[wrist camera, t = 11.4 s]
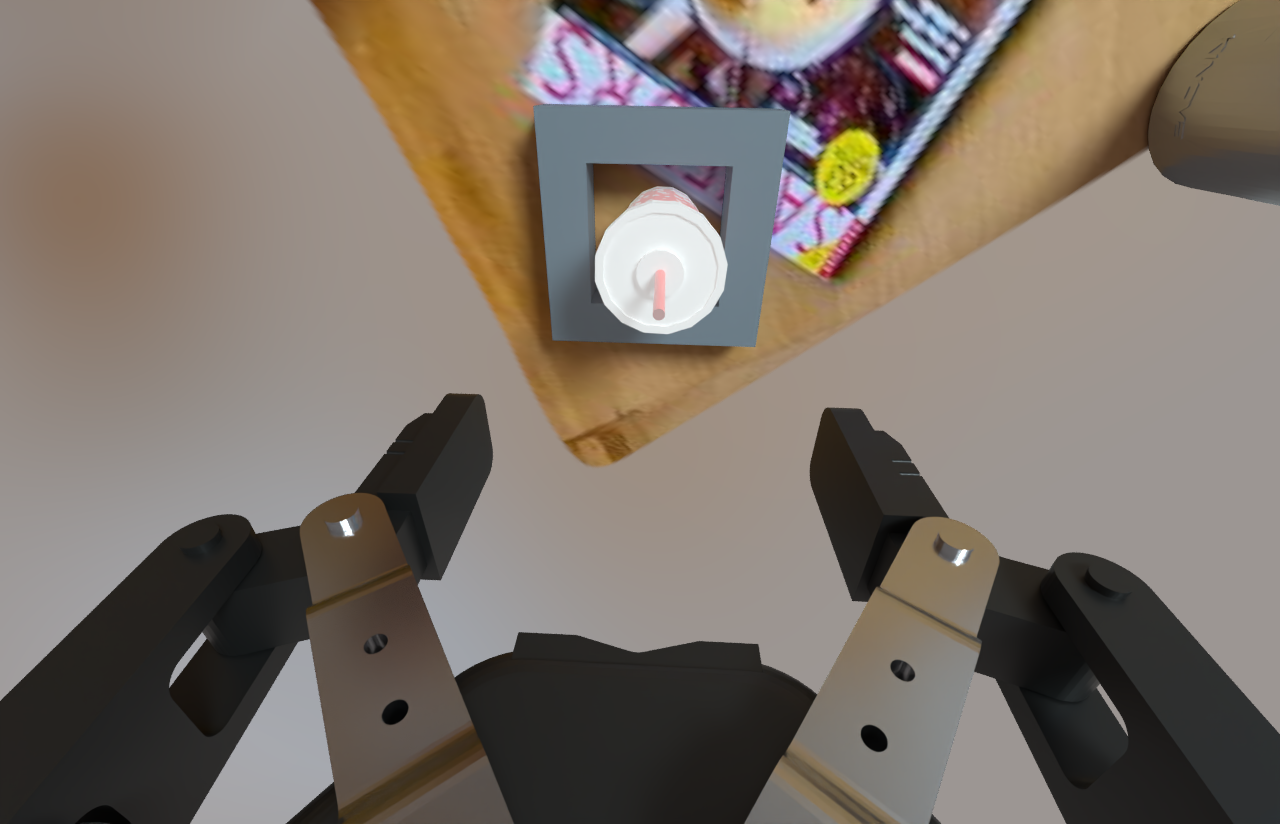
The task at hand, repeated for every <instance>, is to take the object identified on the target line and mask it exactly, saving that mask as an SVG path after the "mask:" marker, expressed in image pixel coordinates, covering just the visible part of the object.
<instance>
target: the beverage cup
mask: <svg viewBox="0 0 1280 824" xmlns="http://www.w3.org/2000/svg"><path fill="white" fill-rule="evenodd" d="M727 266H728V264H727V260H726V256H725V252H724V248H723V245H722V241H721V237H720V236H719V234H718V233H717V232H716V230H715V229H714V228H713V227H712V225H711V224H710V223H709V222H708V220H707V219H706V218H705V216H704V215H703V214H702V213H700V212H699V211H698V209H697V208H696V206H695V205H694V204H693V202H692V201H691V200H690V198H689V197H688V196H687V195H686V194H684V193H683V192H681V191H679V190H677V189H675V188H673V187H661V186H657V187H654V188H651V189H649V190H646V191H643V192H642V193H641V194H640V195H639V196H638V197H637V198H636V199H635V200H633V201H632V202H631V204H630V205H629V207H628V208H627V210H626V211H624V212H623V213H622V214H621V215H620V216H619V217H618V218H617V219H616V220H615V221H614V222H613V223H612V224H611V225H610V226H609V227H608V228H607V229H606V231H605V234H604V236H603V238H602V241H601V243H600V245H599V248H598V250H597V252H596V255H595V283H596V285H597V288H598V290H599V293H600V295H601V298H602V300H603V302H604V305H605V306H606V307H607V308H608V309H609V310H610V311H611V312H612V313H613V314H614V315H615V316H616V317H617V318H618V319H619V320H620V321H621V322H622V323H624V324H626V325H628V326H630V327H633V328H635V329H637V330H639V331H641V332H643V333H657V334H670V333H674V332H677V331H680V330H684V329H687V328H690V327H692V326H693V325H695V324H696V323H697V322H699V321H700V320H701V319H702V318H704V317H705V316H706V315H708V314H709V313H710V312H711V311H712V309H713V308H714V306H715V304H716V303H717V301H718V299H719V298H720V296H721V294H722V292H723V291H724V286H725V279H726V273H727Z"/></svg>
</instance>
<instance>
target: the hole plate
mask: <svg viewBox="0 0 1280 824" xmlns="http://www.w3.org/2000/svg"><path fill="white" fill-rule="evenodd" d="M533 107H534V119H535V131H536V143H537V156H538V168H539V180H540V192H541V204H542V217H543V229H544V241H545V253H546V265H547V278H548V290H549V302H550V314H551V326H552V339H553V340H556V341H587V342H618V343H649V344H680V345H711V346H742V347H755V345H756V339H757V332H758V325H759V319H760V312H761V305H762V298H763V292H764V285H765V278H766V272H767V265H768V258H769V252H770V245H771V238H772V231H773V225H774V218H775V211H776V205H777V198H778V191H779V185H780V178H781V171H782V164H783V158H784V151H785V144H786V138H787V131H788V124H789V117H790V111H787V110H783V109H767V108H717V107H667V106H616V105H566V104H543V105H537V106H533ZM593 163H606V164H650V165H693V166H727V167H726V177H725V188H724V198H723V208H722V219H721V229H720V237H721V241H722V245H723V248H724V252H725V256H726V260H727V264H728V266H727V273H726V279H725V286H724V291H723V292H722V294H721V296H720V298H719V299H718V301H717V303H716V304H715V306H714V308H713V309H712V311H711V312H710V313H709V314H708V315H706V316H705V317H704V318H702V319H701V320H700V321H699V322H697V323H696V324H695V325H693V326H692V327H690V328H687V329H684V330H680V331H677V332H674V333H670V334H657V333H643V332H641V331H639V330H637V329H635V328H633V327H630V326H628V325H626V324H624V323H622V322H621V321H620V320H619V319H618V318H617V317H616V316H615V315H614V314H613V313H612V312H611V311H610V310H609V309H608V308H607V307H606V306H605V305H604V302H603V300H602V298H601V295H600V293H599V290H598V288H597V285H596V283H595V255H596V245H595V212H594V178H593Z"/></svg>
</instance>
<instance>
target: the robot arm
mask: <svg viewBox="0 0 1280 824" xmlns="http://www.w3.org/2000/svg"><path fill="white" fill-rule="evenodd" d="M1148 142H1149V151H1150V154H1151V157H1152V160H1153V163H1154V165H1155V166H1156V167H1157V169H1158V170H1159V171H1160V172H1161V174H1162V175H1163V176H1164V177H1166V178H1167V179H1169V180H1171V181H1172V182H1174V183H1175V184H1179V185H1183V186H1187V187H1190V188H1195V189H1200V190H1205V191H1210V192H1216V193H1221V194H1226V195H1231V196H1236V197H1241V198H1246V199H1250V200H1254V201H1260V202H1264V203H1269V204H1274V205H1279V206H1280V0H1240V1H1238V2H1237V3H1235V4H1233V5H1232V6H1231V7H1230V8H1228V9H1227V10H1226V11H1225V12H1223V13H1222V14H1221V15H1220V16H1218V17H1217V18H1216V19H1215V20H1213V21H1212V22H1211V23H1210V24H1209V25H1208V26H1207V27H1206V28H1205V29H1204V30H1203V31H1202V32H1201V33H1200V34H1199V35H1198V36H1197V37H1196V38H1195V39H1194V40H1193V41H1192V42H1191V43H1190V44H1189V46H1188V47H1187V48H1186V50H1185V51H1184V52H1183V54H1182V55H1181V56H1180V58H1179V59H1178V60H1177V62H1176V63H1175V64H1174V66H1173V67H1172V69H1171V71H1170V72H1169V74H1168V76H1167V78H1166V79H1165V81H1164V83H1163V85H1162V87H1161V88H1160V91H1159V93H1158V96H1157V98H1156V101H1155V104H1154V106H1153V109H1152V112H1151V118H1150V123H1149V129H1148ZM492 460H493V449H492V442H491V437H490V431H489V425H488V419H487V414H486V408H485V403H484V400H483V397H482V396H481V395H479V394H452V393H449V394H447V395H446V396H445V397H444V398H443V400H442V401H441V403H440V404H439V405H438V407H437V408H436V410H435V411H434V412H433V413H425V414H423V415H421V416H420V417H418V418H417V419H415V420H414V421H412V422H411V423H409V424H408V425H406V427H405V428H404V429H403V430H402V432H401V433H400V434H399V436H398V437H397V438H396V442H393V443H392V445H391V446H390V447H389V449H388V450H387V454H384V455H383V457H382V458H381V459H380V461H379V462H378V463H377V464H376V466H375V467H374V468H373V470H372V471H371V472H370V474H369V475H368V476H367V477H366V479H365V480H364V481H363V483H362V484H361V485H360V487H359V488H358V489H357V491H356V492H355V493H351V494H346V495H342V496H338V497H336V498H333V499H330V500H328V501H326V502H324V503H322V504H321V505H319V506H318V507H316V508H315V509H314V510H312V511H311V512H310V513H309V514H308V515H307V516H306V518H305V519H304V520H303V522H302V524H301V526H296V527H291V528H285V529H280V530H274V531H269V532H263V533H258V534H255V532H254V530H253V528H252V526H251V524H250V522H249V521H248V520H247V519H246V518H244V517H242V516H239V515H232V514H226V515H217V516H213V517H209V518H205V519H202V520H199V521H196V522H194V523H191V524H189V525H187V526H185V527H184V528H181V529H180V530H178V531H177V532H175V533H173V534H172V535H171V536H169V537H168V538H167V539H165V540H164V541H163V542H162V543H161V544H160V545H159V546H158V547H157V548H156V549H155V550H154V551H153V552H152V553H151V554H150V555H149V556H148V557H147V558H146V559H145V560H144V561H143V562H142V563H141V564H140V565H139V566H138V567H136V568H135V569H134V570H133V571H132V572H131V573H130V574H129V575H128V577H126V578H125V579H124V580H123V581H122V582H121V583H120V584H119V585H118V586H117V587H116V588H115V589H114V590H113V591H112V592H111V593H110V594H109V595H108V596H107V597H106V598H105V599H104V600H103V601H102V602H101V603H100V604H99V605H98V606H97V607H96V608H95V609H94V610H93V611H92V612H91V613H90V614H89V615H87V617H86V618H84V619H83V621H81V622H80V624H78V625H77V626H76V627H75V628H74V629H73V630H72V631H71V632H70V633H69V634H68V635H67V636H66V637H65V638H64V639H63V640H62V641H61V642H60V643H59V644H58V645H57V646H56V647H55V648H54V649H53V650H52V651H51V652H50V653H49V654H48V655H47V656H46V657H45V658H44V659H43V660H42V661H41V662H40V663H39V664H38V665H36V666H35V668H34V669H33V670H31V671H30V672H29V673H28V674H27V675H26V676H25V677H24V678H23V679H22V680H21V681H20V682H19V683H18V684H17V685H16V686H15V687H14V688H13V689H12V690H11V691H10V692H9V693H8V694H7V695H6V696H5V697H4V698H3V699H2V700H1V701H0V824H190V822H191V821H192V819H193V817H194V816H195V814H196V812H197V811H198V809H199V807H200V806H201V804H202V802H203V800H204V799H205V797H206V796H207V794H208V792H209V790H210V789H211V787H212V786H213V784H214V782H215V781H216V779H217V777H218V775H219V774H220V772H221V770H222V769H223V767H224V765H225V764H226V762H227V760H228V759H229V757H230V755H231V753H232V752H233V750H234V749H235V747H236V745H237V743H238V742H239V740H240V739H241V737H242V735H243V733H244V732H245V730H246V728H247V727H248V725H249V723H250V722H251V720H252V718H253V717H254V715H255V713H256V712H257V710H258V708H259V707H260V705H261V703H262V702H263V700H264V698H265V697H266V695H267V693H268V691H269V690H270V688H271V686H272V684H273V683H274V681H275V680H276V678H277V676H278V675H279V673H280V671H281V670H282V668H283V666H284V665H285V663H286V661H287V660H288V658H289V656H290V655H291V653H292V651H293V649H294V647H295V646H296V644H297V643H298V642H299V641H303V640H308V639H310V642H311V649H312V654H313V660H314V666H315V672H316V678H317V684H318V690H319V696H320V702H321V708H322V714H323V720H324V726H325V732H326V738H327V743H328V750H329V755H330V761H331V767H332V773H333V779H334V782H333V783H332V784H331V785H330V786H328V787H327V788H326V789H325V790H324V791H323V792H322V793H320V794H319V795H318V796H317V797H316V798H315V799H314V800H312V801H311V802H310V803H309V804H308V805H307V806H306V807H304V808H303V809H302V810H301V811H300V812H299V813H298V814H297V815H295V816H294V817H293V818H292V819H291V820H290V821H289V822H287V823H286V824H941V823H940V822H939V821H938V820H937V819H936V818H935V817H934V816H933V814H932V811H933V808H934V805H935V801H936V798H937V794H938V791H939V788H940V784H941V781H942V777H943V774H944V771H945V767H946V764H947V761H948V757H949V754H950V750H951V747H952V744H953V740H954V737H955V734H956V730H957V727H958V724H959V720H960V717H961V713H962V709H963V707H964V703H965V700H966V696H967V693H968V690H969V686H970V683H971V680H972V676H973V673H974V672H977V673H980V674H983V675H986V676H989V677H993V678H995V679H996V681H997V683H998V685H999V687H1000V689H1001V691H1002V693H1003V695H1004V697H1005V699H1006V701H1007V703H1008V705H1009V707H1010V710H1011V712H1012V714H1013V715H1014V718H1015V720H1016V722H1017V724H1018V726H1019V728H1020V730H1021V732H1022V734H1023V736H1024V738H1025V740H1026V742H1027V744H1028V746H1029V748H1030V750H1031V752H1032V754H1033V756H1034V759H1035V761H1036V763H1037V765H1038V767H1039V768H1040V771H1041V773H1042V775H1043V777H1044V779H1045V781H1046V783H1047V785H1048V787H1049V789H1050V791H1051V793H1052V795H1053V797H1054V799H1055V802H1056V804H1057V806H1058V808H1059V810H1060V812H1061V814H1062V816H1063V818H1064V820H1065V822H1066V824H1280V734H1279V733H1278V732H1277V731H1276V730H1275V728H1274V727H1273V726H1272V725H1271V724H1270V723H1269V722H1268V720H1266V718H1265V717H1264V716H1263V715H1262V714H1261V713H1260V712H1259V710H1258V709H1257V708H1256V707H1255V706H1254V705H1253V704H1252V703H1251V701H1250V700H1249V699H1248V698H1247V697H1246V696H1245V694H1244V693H1243V692H1242V691H1241V690H1240V689H1239V688H1238V687H1237V686H1236V684H1235V683H1234V682H1233V681H1232V680H1231V679H1230V678H1229V676H1228V675H1226V673H1225V672H1224V671H1223V670H1222V669H1221V667H1220V666H1219V665H1218V664H1217V663H1216V662H1215V661H1214V660H1213V658H1212V657H1211V656H1210V655H1209V654H1208V653H1207V652H1206V651H1205V649H1204V648H1203V647H1202V646H1201V645H1200V644H1199V643H1198V641H1197V640H1196V639H1195V638H1194V637H1193V636H1192V635H1191V633H1190V632H1189V631H1188V630H1187V629H1186V628H1185V627H1184V626H1183V625H1182V623H1181V622H1180V621H1179V620H1178V619H1177V618H1176V617H1175V615H1174V614H1173V613H1172V612H1171V611H1170V610H1169V609H1168V607H1167V606H1166V605H1165V604H1164V603H1163V602H1162V601H1161V600H1160V598H1159V597H1158V596H1157V595H1156V594H1155V593H1154V592H1153V591H1152V589H1150V587H1149V586H1147V584H1146V583H1145V582H1143V581H1142V580H1141V579H1140V578H1138V577H1137V576H1136V575H1134V574H1133V573H1131V572H1130V571H1128V570H1126V569H1125V568H1123V567H1121V566H1119V565H1117V564H1115V563H1113V562H1111V561H1109V560H1106V559H1104V558H1101V557H1098V556H1094V555H1090V554H1085V553H1066V554H1063V555H1061V556H1059V557H1057V559H1056V560H1055V562H1054V563H1053V565H1052V566H1051V568H1050V570H1047V569H1044V568H1040V567H1036V566H1032V565H1028V564H1025V563H1021V562H1017V561H1014V560H1010V559H1006V558H1003V557H1000V556H999V555H998V553H997V550H996V549H995V547H994V546H993V544H992V543H991V542H990V541H989V540H988V539H987V538H986V537H985V536H984V535H982V534H981V533H980V532H978V531H977V530H975V529H974V528H972V527H970V526H968V525H966V524H964V523H961V522H959V521H956V520H952V519H949V517H948V516H947V514H946V513H945V511H944V510H943V508H942V507H941V505H940V503H939V502H938V500H937V499H936V497H935V496H934V494H933V493H932V491H931V490H930V488H929V486H928V485H927V483H926V482H925V480H924V479H923V477H922V476H920V475H919V471H918V470H917V468H916V466H915V465H914V464H913V463H911V459H910V457H909V456H908V454H907V453H906V451H905V449H904V448H903V447H902V445H901V444H900V443H899V442H897V441H896V440H895V439H893V438H892V437H891V436H889V435H888V434H887V433H886V432H884V431H874V429H873V428H872V426H871V424H870V423H869V421H868V419H867V418H866V416H865V414H864V412H863V411H862V410H861V409H852V408H826V409H825V410H824V412H823V414H822V417H821V421H820V426H819V429H818V433H817V438H816V441H815V446H814V450H813V454H812V458H811V463H810V481H811V486H812V490H813V492H814V495H815V498H816V501H817V503H818V506H819V509H820V512H821V515H822V518H823V520H824V523H825V526H826V529H827V531H828V534H829V537H830V540H831V543H832V545H833V548H834V551H835V554H836V556H837V559H838V562H839V565H840V568H841V570H842V573H843V576H844V579H845V582H846V585H847V587H848V590H849V593H850V596H851V599H852V601H862V602H868V603H867V605H866V607H865V608H864V610H863V612H862V614H861V616H860V618H859V619H858V621H857V623H856V625H855V627H854V628H853V630H852V632H851V634H850V636H849V638H848V640H847V641H846V643H845V645H844V647H843V649H842V651H841V652H840V654H839V656H838V658H837V660H836V662H835V663H834V665H833V667H832V669H831V671H830V673H829V674H828V676H827V678H826V680H825V682H824V684H823V685H822V687H821V689H820V691H819V693H818V695H817V694H816V693H815V692H813V691H812V690H811V689H810V688H808V687H807V686H805V685H804V684H802V683H801V682H800V681H798V680H796V679H794V678H793V677H791V676H789V675H787V674H785V673H783V672H781V671H779V670H776V669H774V668H772V667H769V666H766V665H763V664H761V660H760V659H761V658H760V652H759V646H758V644H744V643H724V642H704V641H697V642H692V643H687V644H682V645H677V646H672V647H667V648H662V649H657V650H652V651H647V652H640V653H637V652H631V651H627V650H624V649H621V648H617V647H614V646H611V645H607V644H604V643H600V642H598V641H594V640H591V639H587V638H584V637H581V636H578V635H563V634H542V633H522V632H519V633H518V636H517V640H516V644H515V647H514V651H513V652H510V653H505V654H502V655H498V656H495V657H492V658H489V659H487V660H485V661H483V662H480V663H478V664H476V665H474V666H472V667H470V668H469V669H467V670H465V671H463V672H462V673H460V674H459V675H458V676H456V677H455V678H454V676H453V674H452V671H451V668H450V666H449V663H448V660H447V658H446V655H445V653H444V650H443V648H442V645H441V643H440V640H439V638H438V635H437V633H436V630H435V628H434V625H433V623H432V621H431V618H430V615H429V613H428V610H427V608H426V605H425V603H424V601H423V598H422V595H421V593H420V590H419V588H418V583H419V581H420V579H425V580H441V579H442V576H443V574H444V572H445V570H446V568H447V566H448V563H449V561H450V559H451V557H452V555H453V552H454V550H455V548H456V546H457V544H458V541H459V539H460V537H461V535H462V533H463V531H464V528H465V526H466V524H467V522H468V519H469V517H470V515H471V513H472V510H473V509H474V506H475V504H476V502H477V500H478V498H479V496H480V493H481V491H482V489H483V487H484V485H485V482H486V480H487V478H488V476H489V474H490V471H491V467H492ZM202 632H203V633H204V635H205V636H206V638H207V639H206V641H205V642H204V643H203V645H202V646H201V647H200V649H199V650H198V651H197V653H196V654H195V655H194V656H193V658H192V659H191V660H190V662H189V663H188V664H187V666H186V667H185V668H184V669H183V671H182V672H181V673H180V675H179V676H178V677H177V679H176V680H175V681H174V683H173V684H172V685H171V687H170V688H169V683H170V678H171V675H172V673H173V671H174V668H175V667H176V665H177V664H178V662H179V661H180V659H181V658H182V657H183V656H184V654H185V653H186V651H188V649H189V648H190V647H191V645H192V644H193V643H194V642H195V640H196V639H197V638H198V636H199V635H200V634H201V633H202ZM1099 684H1101V686H1102V687H1103V689H1104V690H1105V692H1106V693H1107V695H1108V696H1109V698H1110V699H1111V701H1112V702H1113V704H1114V705H1115V707H1116V708H1117V710H1118V711H1119V713H1120V714H1121V716H1122V718H1123V720H1124V722H1125V725H1126V728H1127V732H1128V736H1127V734H1126V733H1125V731H1124V730H1123V728H1122V727H1121V725H1120V724H1119V722H1118V720H1117V719H1116V717H1115V716H1114V714H1113V713H1112V711H1111V710H1110V708H1109V707H1108V705H1107V704H1106V702H1105V700H1104V699H1103V697H1102V696H1101V694H1100V693H1099V691H1098V690H1097V688H1096V687H1097V686H1098V685H1099Z"/></svg>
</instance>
